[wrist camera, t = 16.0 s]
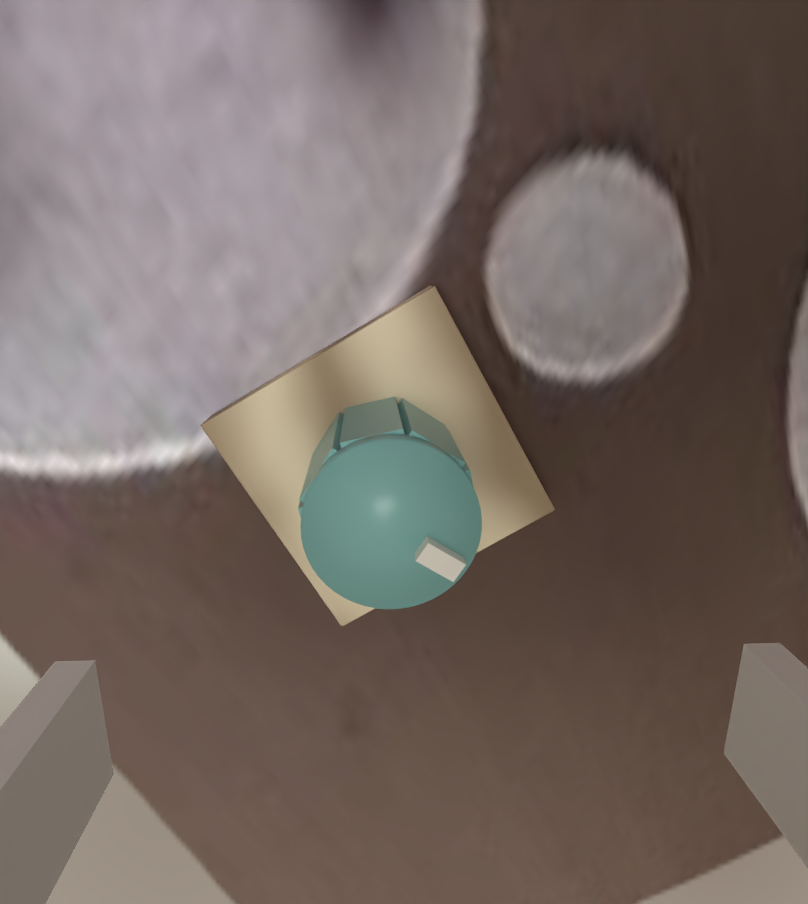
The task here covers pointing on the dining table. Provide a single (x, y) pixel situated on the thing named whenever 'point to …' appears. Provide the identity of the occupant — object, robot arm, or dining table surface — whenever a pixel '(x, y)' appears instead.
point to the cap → (389, 507)
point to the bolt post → (366, 380)
